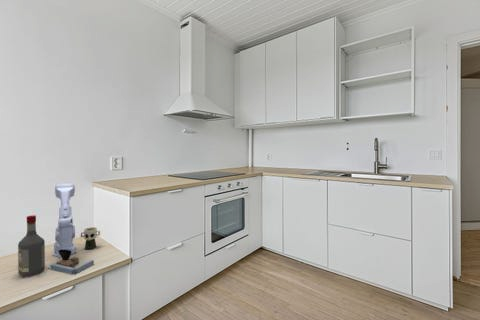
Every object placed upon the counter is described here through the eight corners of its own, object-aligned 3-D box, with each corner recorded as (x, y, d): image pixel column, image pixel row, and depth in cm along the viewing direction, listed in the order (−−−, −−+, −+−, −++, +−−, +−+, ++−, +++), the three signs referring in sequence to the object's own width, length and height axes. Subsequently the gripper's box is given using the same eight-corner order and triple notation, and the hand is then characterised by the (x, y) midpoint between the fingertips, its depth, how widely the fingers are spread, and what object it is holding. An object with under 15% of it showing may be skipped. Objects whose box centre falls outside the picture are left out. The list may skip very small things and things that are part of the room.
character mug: (79, 251, 147) (79, 231, 146) (82, 247, 153) (82, 228, 153) (99, 249, 151) (99, 229, 151) (100, 244, 158) (100, 226, 157)
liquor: (39, 266, 127) (38, 213, 126) (46, 271, 123) (45, 215, 122) (17, 273, 119) (16, 216, 118) (23, 279, 115) (23, 219, 114)
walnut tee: (70, 262, 133) (70, 256, 133) (82, 264, 131) (82, 258, 130) (56, 268, 126) (56, 262, 125) (68, 271, 123) (68, 265, 123)
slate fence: (50, 269, 125) (50, 264, 125) (71, 259, 136) (71, 255, 136) (73, 274, 120) (73, 270, 120) (93, 264, 131) (93, 260, 131)
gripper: (81, 238, 131) (81, 261, 132) (65, 234, 137) (65, 256, 137) (68, 242, 125) (68, 266, 125) (51, 238, 130) (51, 261, 131)
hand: (65, 261), depth 131 cm, fingers closed
